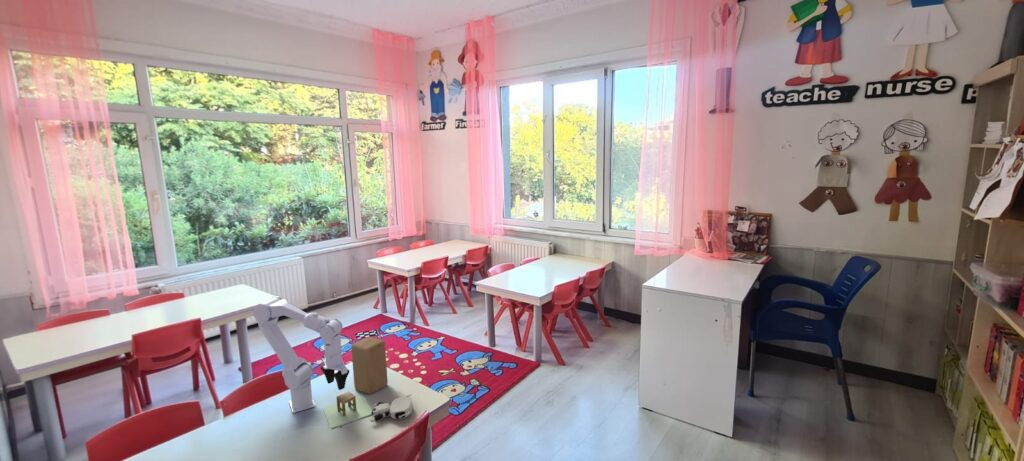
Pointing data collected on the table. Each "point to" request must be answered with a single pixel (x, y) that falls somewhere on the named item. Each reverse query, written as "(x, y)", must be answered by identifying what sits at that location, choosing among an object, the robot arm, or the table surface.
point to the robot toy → (392, 409)
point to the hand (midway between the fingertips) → (336, 385)
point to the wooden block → (369, 365)
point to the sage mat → (347, 412)
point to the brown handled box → (344, 399)
